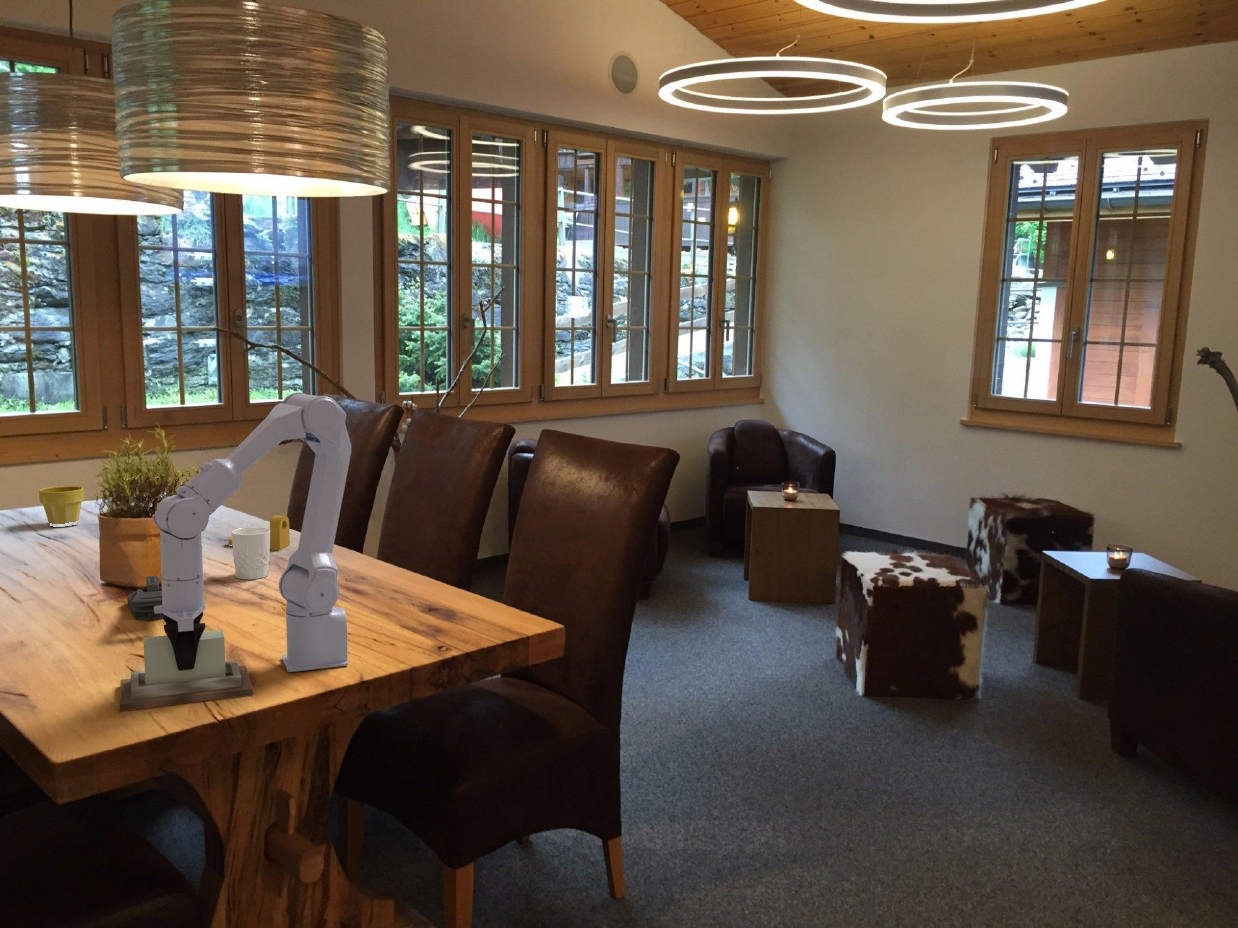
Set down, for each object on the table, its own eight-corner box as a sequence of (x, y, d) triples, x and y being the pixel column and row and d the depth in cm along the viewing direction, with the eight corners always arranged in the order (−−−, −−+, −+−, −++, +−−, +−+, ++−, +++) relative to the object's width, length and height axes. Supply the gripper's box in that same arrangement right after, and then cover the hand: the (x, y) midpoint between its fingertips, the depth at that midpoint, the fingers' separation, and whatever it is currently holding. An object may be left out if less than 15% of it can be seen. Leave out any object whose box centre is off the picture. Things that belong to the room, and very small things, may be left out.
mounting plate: (246, 671, 163) (245, 656, 163) (253, 694, 154) (252, 678, 153) (120, 686, 156) (120, 670, 155) (119, 711, 146) (119, 694, 146)
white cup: (279, 574, 224) (278, 529, 223) (251, 582, 217) (249, 536, 216) (253, 569, 228) (251, 525, 226) (224, 577, 221) (223, 531, 219)
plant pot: (34, 525, 268) (32, 488, 267) (75, 519, 276) (73, 484, 275) (50, 531, 262) (48, 493, 260) (92, 525, 270) (90, 488, 268)
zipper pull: (126, 602, 177) (126, 569, 200) (128, 639, 178) (127, 602, 200) (183, 597, 181) (176, 565, 203) (184, 633, 182) (177, 598, 204)
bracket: (289, 547, 250) (289, 514, 249) (280, 551, 246) (279, 517, 245) (235, 543, 254) (234, 510, 253) (224, 547, 249) (223, 513, 248)
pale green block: (223, 673, 159) (222, 629, 158) (225, 681, 155) (224, 637, 154) (145, 682, 154) (143, 637, 153) (145, 691, 150) (143, 645, 149)
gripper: (152, 567, 157) (155, 652, 159) (153, 590, 144) (157, 683, 146) (201, 563, 160) (204, 647, 162) (207, 586, 147) (210, 677, 149)
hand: (185, 664), depth 154 cm, fingers closed on pale green block, 4 cm apart
